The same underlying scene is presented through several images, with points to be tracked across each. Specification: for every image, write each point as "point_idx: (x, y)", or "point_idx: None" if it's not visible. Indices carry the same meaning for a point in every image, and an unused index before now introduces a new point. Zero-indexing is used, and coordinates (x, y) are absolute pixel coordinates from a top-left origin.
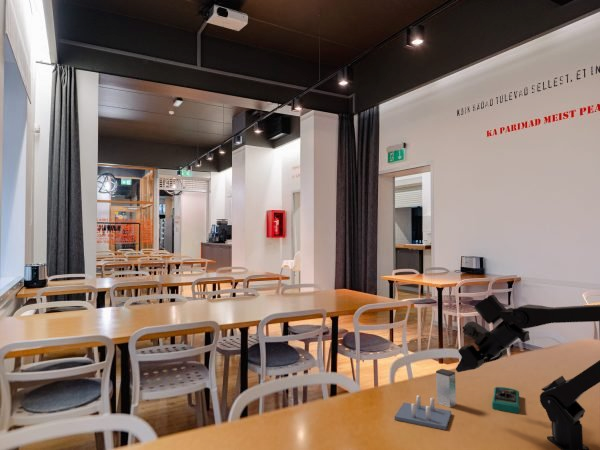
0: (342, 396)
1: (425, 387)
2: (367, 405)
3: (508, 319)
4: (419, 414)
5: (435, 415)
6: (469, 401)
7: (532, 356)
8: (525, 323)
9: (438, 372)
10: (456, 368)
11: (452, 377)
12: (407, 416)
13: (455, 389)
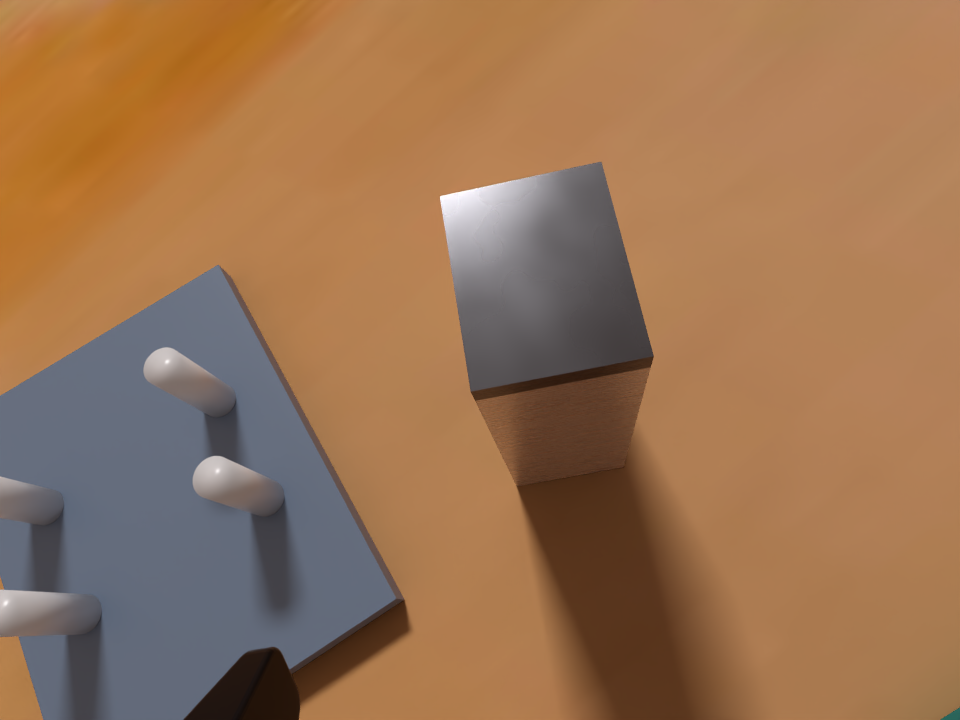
0: (46, 3)
1: (673, 84)
2: (45, 167)
3: None
4: (116, 499)
5: (198, 588)
6: (808, 483)
7: None
8: None
9: (447, 237)
10: (223, 687)
11: (569, 394)
12: (17, 476)
13: (630, 430)
